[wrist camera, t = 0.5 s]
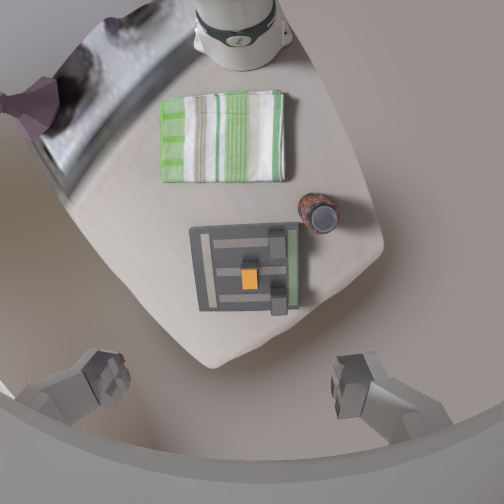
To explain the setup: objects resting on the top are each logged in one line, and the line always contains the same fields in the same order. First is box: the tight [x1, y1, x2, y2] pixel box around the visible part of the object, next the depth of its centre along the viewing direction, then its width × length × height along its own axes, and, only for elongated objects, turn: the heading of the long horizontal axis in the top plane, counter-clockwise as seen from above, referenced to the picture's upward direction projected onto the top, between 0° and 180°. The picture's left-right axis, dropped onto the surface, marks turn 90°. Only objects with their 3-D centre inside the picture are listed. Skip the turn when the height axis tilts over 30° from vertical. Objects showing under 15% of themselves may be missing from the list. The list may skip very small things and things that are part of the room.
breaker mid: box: [240, 261, 260, 289], centre depth 50 cm, size 4×3×4 cm
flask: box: [0, 76, 60, 141], centre depth 36 cm, size 16×16×20 cm
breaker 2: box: [270, 287, 287, 316], centre depth 51 cm, size 4×3×4 cm
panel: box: [189, 222, 299, 311], centre depth 53 cm, size 17×20×2 cm
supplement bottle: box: [298, 193, 339, 234], centre depth 44 cm, size 6×6×11 cm
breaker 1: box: [268, 230, 287, 259], centre depth 48 cm, size 4×3×4 cm
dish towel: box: [160, 90, 286, 183], centre depth 46 cm, size 17×23×4 cm
